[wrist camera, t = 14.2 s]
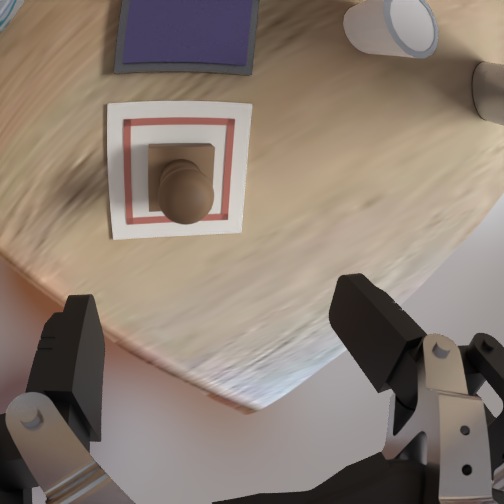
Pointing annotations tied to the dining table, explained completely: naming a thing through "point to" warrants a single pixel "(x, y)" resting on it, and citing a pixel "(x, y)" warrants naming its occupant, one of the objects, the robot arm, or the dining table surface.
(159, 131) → the print card
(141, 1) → the ink pad
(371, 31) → the shot glass
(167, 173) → the stamp
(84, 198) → the dining table surface
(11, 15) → the chinaware
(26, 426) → the robot arm
